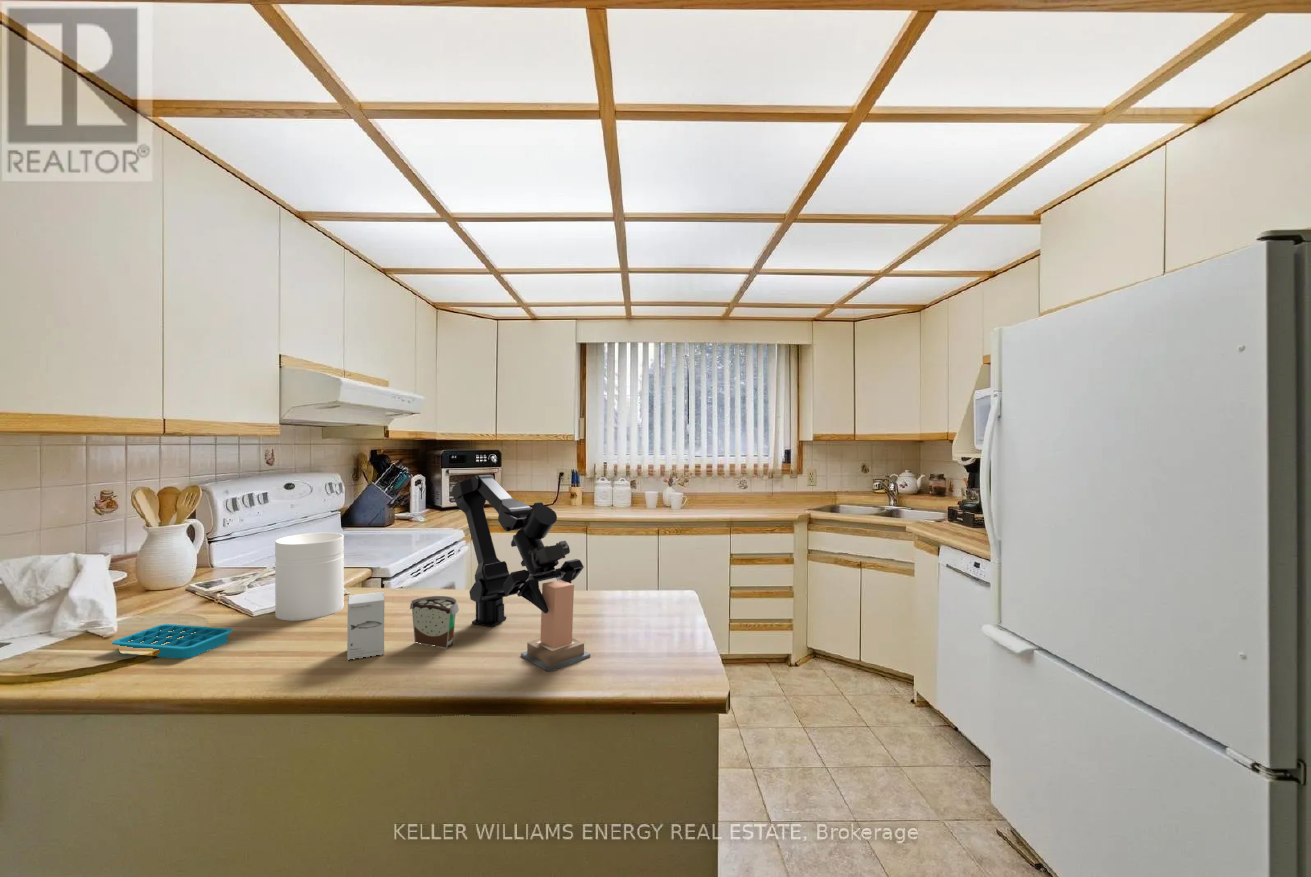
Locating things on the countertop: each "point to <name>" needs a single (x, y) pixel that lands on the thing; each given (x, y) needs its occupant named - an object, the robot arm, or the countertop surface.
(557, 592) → the terracotta block
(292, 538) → the canister
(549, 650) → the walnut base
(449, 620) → the food container
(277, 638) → the countertop surface
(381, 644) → the supplement box
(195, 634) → the ice cube tray
